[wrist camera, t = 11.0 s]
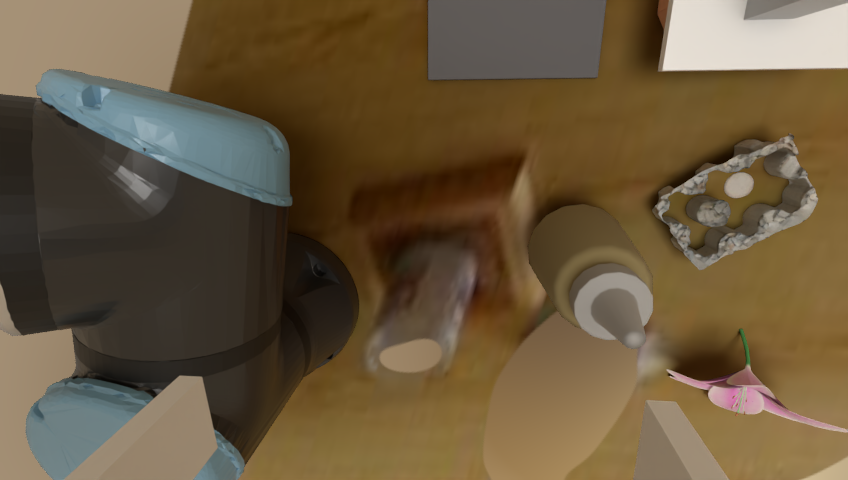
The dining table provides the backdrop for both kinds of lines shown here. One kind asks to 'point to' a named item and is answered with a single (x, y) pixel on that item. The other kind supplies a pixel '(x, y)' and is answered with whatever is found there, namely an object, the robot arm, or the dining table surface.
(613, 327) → the squeeze bottle
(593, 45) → the rubber mat
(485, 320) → the dining table surface
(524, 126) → the dining table surface
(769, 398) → the lily
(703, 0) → the cover sheet
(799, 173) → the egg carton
